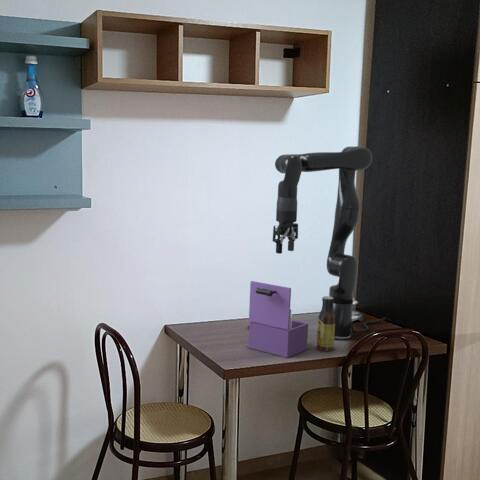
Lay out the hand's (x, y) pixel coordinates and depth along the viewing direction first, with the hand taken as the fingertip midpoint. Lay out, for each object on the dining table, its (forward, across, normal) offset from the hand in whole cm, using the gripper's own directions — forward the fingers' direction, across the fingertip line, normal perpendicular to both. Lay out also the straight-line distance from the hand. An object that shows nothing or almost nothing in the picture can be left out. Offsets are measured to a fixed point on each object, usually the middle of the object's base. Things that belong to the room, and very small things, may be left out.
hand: (284, 252), depth 241 cm
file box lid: (+17, -13, -2) cm, 22 cm away
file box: (+35, -6, -2) cm, 36 cm away
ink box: (+35, -5, -2) cm, 35 cm away
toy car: (+36, +50, -2) cm, 61 cm away
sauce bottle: (+36, +6, -15) cm, 39 cm away
